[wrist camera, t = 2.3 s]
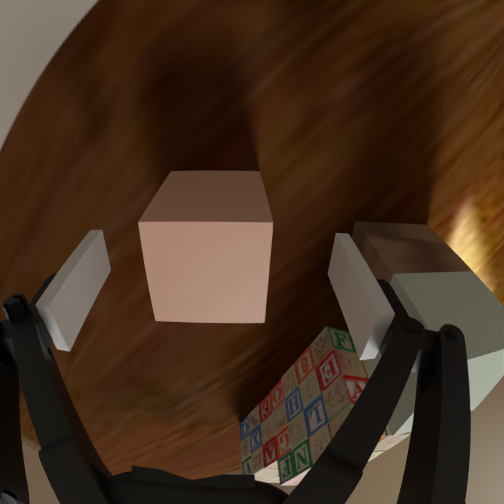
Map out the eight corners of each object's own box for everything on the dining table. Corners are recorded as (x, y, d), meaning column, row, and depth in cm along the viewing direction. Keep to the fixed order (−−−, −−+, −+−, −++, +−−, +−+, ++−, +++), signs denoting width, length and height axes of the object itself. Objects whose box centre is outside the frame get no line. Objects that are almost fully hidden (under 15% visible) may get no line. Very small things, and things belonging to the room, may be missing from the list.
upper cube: (362, 353, 20) (392, 436, 14) (393, 273, 17) (449, 364, 11) (437, 342, 21) (473, 410, 15) (472, 271, 17) (529, 339, 11)
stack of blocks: (278, 427, 39) (287, 502, 29) (238, 422, 38) (242, 502, 27) (372, 335, 30) (412, 435, 19) (325, 323, 28) (360, 438, 18)
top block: (176, 247, 23) (155, 320, 16) (171, 170, 20) (138, 221, 13) (255, 248, 23) (264, 322, 17) (259, 171, 20) (273, 222, 13)
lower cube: (338, 293, 26) (362, 353, 20) (355, 221, 23) (393, 273, 17) (404, 290, 27) (437, 342, 21) (426, 224, 23) (472, 271, 17)
